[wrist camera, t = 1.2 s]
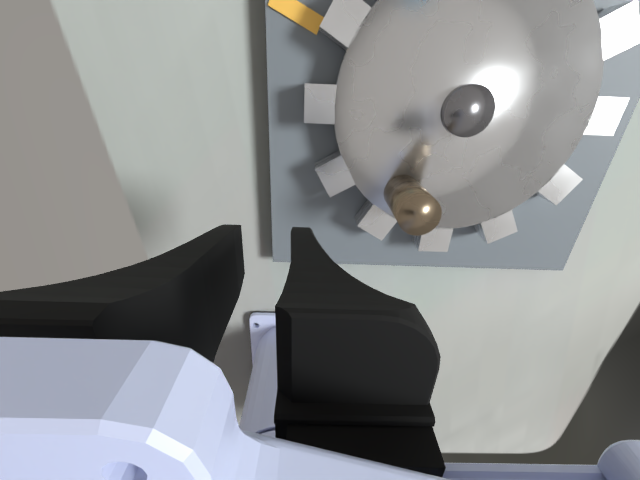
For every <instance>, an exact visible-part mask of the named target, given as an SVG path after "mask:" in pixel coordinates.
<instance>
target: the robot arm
mask: <svg viewBox="0 0 640 480" xmlns="http://www.w3.org/2000/svg"><path fill="white" fill-rule="evenodd" d="M244 274H245V272H244V259H243V246H242V233H241V225H221V226H218V227H216V228H214V229H212V230H210V231H208V232H206V233H204V234H203V235H201V236H199V237H197V238H195V239H193V240H191V241H189V242H187V243H185V244H183V245H181V246H179V247H176V248H174V249H172V250H170V251H168V252H166V253H164V254H161V255H159V256H156V257H154V258H151V259H149V260H146V261H143V262H140V263H137V264H135V265H132V266H128V267H125V268H121V269H117V270H114V271H110V272H107V273H104V274H100V275H96V276H91V277H87V278H83V279H78V280H73V281H68V282H63V283H58V284H52V285H46V286H39V287H32V288H26V289H18V290H11V291H3V292H0V480H640V440H624V441H619V442H616V443H614V444H611V445H610V446H609V447H608V448H607V449H605V451H604V452H603V453H602V455H601V457H600V459H599V461H598V464H597V465H561V464H493V463H492V464H490V463H444V461H443V458H442V455H441V452H440V449H439V446H438V443H437V440H436V437H435V434H434V431H433V428H432V426H434V424H435V417H434V414H433V411H432V408H431V405H430V399H431V395H432V392H433V388H434V385H435V382H436V378H437V375H438V371H439V365H440V354H439V350H438V346H437V343H436V341H435V339H434V337H433V335H432V332H431V330H430V329H429V327H428V325H427V323H426V321H425V320H424V318H423V317H422V315H421V314H420V312H419V310H418V309H417V307H416V305H415V304H412V303H409V302H406V301H403V300H400V299H397V298H394V297H392V296H389V295H386V294H384V293H382V292H380V291H377V290H375V289H373V288H371V287H369V286H367V285H366V284H364V283H362V282H360V281H359V280H357V279H356V278H354V277H352V276H351V275H350V274H348V273H347V272H346V271H344V270H343V269H342V268H341V267H339V266H338V265H337V264H336V263H335V262H334V261H333V260H332V259H331V258H330V257H329V255H328V254H327V253H326V252H325V250H324V249H323V248H322V246H321V245H320V244H319V242H318V241H317V239H316V237H315V235H314V233H313V231H312V229H311V228H310V227H292V229H291V264H290V269H289V273H288V276H287V280H286V283H285V286H284V289H283V292H282V294H281V296H280V298H279V300H278V302H277V304H276V306H275V313H259V312H256V313H252V314H251V315H250V318H249V325H250V338H251V351H252V364H253V368H252V372H251V376H250V381H249V385H248V390H247V394H246V399H245V403H244V407H243V412H242V416H241V421H240V425H238V422H237V419H236V412H235V404H234V395H233V392H232V390H231V388H230V386H229V384H228V382H227V380H226V378H225V376H224V374H223V372H222V370H221V369H220V368H219V367H218V366H217V365H215V364H214V363H213V362H214V358H215V355H216V352H217V349H218V347H219V344H220V342H221V339H222V337H223V334H224V332H225V329H226V327H227V325H228V322H229V320H230V317H231V315H232V313H233V310H234V308H235V305H236V303H237V300H238V298H239V295H240V291H241V287H242V283H243V279H244ZM254 323H258V324H259V325H255V324H254Z"/></svg>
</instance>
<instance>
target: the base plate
mask: <svg viewBox="0 0 640 480" xmlns="http://www.w3.org/2000/svg"><path fill="white" fill-rule="evenodd" d="M363 1H364V2H365V3H367V4H368V5H369V6H370V7H371V8H372V7H373V5H374V4H375V3H376V2H377V1H378V0H363ZM629 1H633V0H593V2H594V4H595V7H596V10H597V13H599V12H601V11H603V10H605V9H607V8H609V7H610V6H614V5H617V4H621V3H625V2H629ZM332 2H333V0H265V16H266V49H267V83H268V116H269V150H270V184H271V217H272V251H273V262H291V229H292V227H310V228H311V229H312V231H313V233H314V235H315V237H316V239H317V241H318V242H319V244H320V245H321V246H322V248H323V249H324V250H325V252H326V253H327V254H328V255H329V257H330V258H331V259H332V260H333V261H334V262H335V263H337V264H369V265H402V266H435V267H468V268H501V269H533V270H563V269H564V266H565V264H566V262H567V260H568V257H569V255H570V253H571V251H572V248H573V246H574V244H575V242H576V239H577V237H578V235H579V233H580V231H581V228H582V226H583V224H584V222H585V219H586V217H587V215H588V213H589V210H590V208H591V206H592V204H593V201H594V199H595V197H596V195H597V192H598V190H599V188H600V186H601V183H602V181H603V179H604V177H605V174H606V172H607V170H608V168H609V166H610V163H611V161H612V159H613V157H614V154H615V152H616V150H617V148H618V145H619V143H620V141H621V139H622V136H623V134H624V132H625V130H626V127H627V125H628V123H629V121H630V118H631V116H632V114H633V112H634V109H635V107H636V105H637V103H638V101H639V98H640V42H639V43H637V44H635V45H633V46H631V47H629V48H627V49H625V50H623V51H621V52H619V53H617V54H615V55H613V56H611V57H609V58H607V59H605V60H604V66H603V77H602V82H601V87H600V92H599V96H602V97H622V98H629V100H628V103H627V105H626V107H625V110H624V112H623V114H622V116H621V119H620V121H619V123H618V126H617V128H616V130H615V133H614V135H613V136H603V135H583V136H582V138H581V140H580V142H579V143H578V145H577V147H576V148H575V150H574V151H573V153H572V154H571V156H570V157H569V158H568V160H567V161H566V163H565V165H566V166H567V167H568V168H570V169H571V170H572V171H573V172H575V173H576V174H577V175H578V176H579V177H581V178H582V179H583V180H582V181H581V182H580V183H579V184H578V185H577V186H576V187H575V188H574V189H573V190H572V191H571V192H570V193H569V194H568V195H567V196H566V197H565V198H564V199H563V200H562V201H561V202H560V203H558V204H557V205H554V204H553V203H551V202H549V201H547V200H545V199H543V198H541V197H540V196H538V195H537V194H536V193H535V194H534V195H533V196H531V197H530V198H529V199H527V200H526V201H525V202H523V203H522V204H520V205H518V206H517V207H515V208H514V209H512V212H513V216H514V219H515V223H516V227H517V231H518V232H515V233H513V234H511V235H508V236H506V237H503V238H501V239H499V240H496V241H494V242H492V243H489V244H487V243H486V242H485V241H484V240H483V239H482V238H481V237H480V236H479V235H478V234H477V232H476V229H475V226H474V225H472V226H468V227H461V228H454V229H453V232H452V236H451V240H450V244H449V248H448V252H432V251H418V250H417V248H416V246H415V245H414V243H413V241H412V239H413V235H410V234H407V233H406V232H404V231H403V230H402V229H401V227H400V226H399V224H398V222H396V224H395V225H394V226H393V227H392V229H391V230H390V231H389V232H388V234H387V235H386V236H385V237H384V239H383V240H382V241H381V240H380V239H378V238H376V237H375V236H373V235H371V234H370V233H368V232H366V231H365V230H363V229H361V228H360V227H358V226H357V223H356V220H355V216H356V215H357V213H358V212H359V210H360V209H361V208H362V206H363V205H364V204H365V202H366V201H367V200H368V199H367V198H366V197H365V196H364V195H363V194H362V193H361V191H360V190H359V189H358V188H357V186H356V185H354V186H352V187H350V188H348V189H346V190H344V191H342V192H340V193H338V194H336V195H334V196H332V197H329V195H328V193H327V191H326V189H325V187H324V185H323V184H322V182H321V180H320V178H319V176H318V174H317V172H316V171H315V163H316V162H318V161H320V160H322V159H324V158H326V157H328V156H329V155H331V154H333V153H335V152H337V151H339V147H338V144H337V140H336V136H335V128H334V124H316V123H304V91H305V83H312V84H335V85H336V81H337V77H338V73H339V68H340V65H341V63H342V60H343V57H344V54H345V52H346V50H344V49H343V48H342V47H340V46H339V45H338V44H336V43H335V42H334V41H332V40H331V39H330V38H328V37H327V36H326V35H324V34H323V33H322V32H320V31H319V26H320V24H321V22H322V21H323V19H324V17H325V15H326V13H327V11H328V9H329V7H330V5H331V3H332ZM638 13H639V29H640V0H638Z"/></svg>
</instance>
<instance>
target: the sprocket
mask: <svg viewBox="0 0 640 480" xmlns="http://www.w3.org/2000/svg"><path fill="white" fill-rule="evenodd" d="M319 31H320V32H322V33H323V34H324V35H326V36H327V37H328V38H330V39H331V40H332V41H334V42H335V43H336V44H338V45H339V46H340V47H342V48H343V49H344V50H346V52H345V54H344V57H343V60H342V63H341V65H340V68H339V73H338V77H337V81H336V85H335V84H312V83H305V91H304V123H316V124H334V128H335V136H336V140H337V144H338V147H339V151H337V152H335V153H333V154H331V155H329V156H328V157H326V158H324V159H322V160H320V161H318V162H316V163H315V171H316V172H317V174H318V176H319V178H320V180H321V182H322V184H323V185H324V187H325V189H326V191H327V193H328V195H329V197H332V196H334V195H336V194H338V193H340V192H342V191H344V190H346V189H348V188H350V187H352V186H354V185H356V186H357V188H358V189H359V190H360V191H361V193H362V194H363V195H364V196H365V197H366V198H367V199H368V200H367V201H366V202H365V204H364V205H363V206H362V208H361V209H360V210H359V212H358V213H357V215H356V216H355V220H356V223H357V226H358V227H360V228H361V229H363V230H365V231H366V232H368V233H370V234H371V235H373V236H375V237H376V238H378V239H380V240H381V241H382V240H383V239H384V237H385V236H386V235H387V234H388V232H389V231H390V230H391V229H392V227H393V226H394V225H395V224H396V222H398V224H399V226H400V227H401V229H402V230H403V231H404V232H406V233H407V234H410V235H413V239H412V241H413V243H414V245H415V246H416V248H417V250H418V251H432V252H448V248H449V244H450V240H451V236H452V232H453V229H454V228H461V227H468V226H472V225H474V226H475V229H476V232H477V234H478V235H479V236H480V237H481V238H482V239H483V240H484V241H485V242H486V243H487V244H489V243H492V242H494V241H496V240H499V239H501V238H503V237H506V236H508V235H511V234H513V233H515V232H518V231H517V227H516V223H515V219H514V216H513V212H512V209H514V208H515V207H517V206H518V205H520V204H522V203H523V202H525V201H526V200H527V199H529V198H530V197H531V196H533V195H534V194H535V193H536V194H537V195H538V196H540V197H541V198H543V199H545V200H547V201H549V202H551V203H553V204H554V205H557V204H558V203H560V202H561V201H562V200H563V199H564V198H565V197H566V196H567V195H568V194H569V193H570V192H571V191H572V190H573V189H574V188H575V187H576V186H577V185H578V184H579V183H580V182H581V181H582V180H583V179H582V178H581V177H579V176H578V175H577V174H576V173H575V172H573V171H572V170H571V169H570V168H568V167H567V166H566V165H565V163H566V161H567V160H568V158H569V157H570V156H571V154H572V153H573V151H574V150H575V148H576V147H577V145H578V143H579V142H580V140H581V138H582V136H583V135H603V136H613V135H614V133H615V130H616V128H617V126H618V123H619V121H620V119H621V116H622V114H623V112H624V110H625V107H626V105H627V103H628V100H629V98H622V97H602V96H599V92H600V87H601V82H602V77H603V66H604V60H605V59H607V58H609V57H611V56H613V55H615V54H617V53H619V52H621V51H623V50H625V49H627V48H629V47H631V46H633V45H635V44H637V43H639V42H640V29H639V13H638V0H633V1H629V2H625V3H621V4H617V5H614V6H610V7H609V8H607V9H605V10H603V11H601V12H599V13H597V10H596V7H595V4H594V2H593V0H378V1H377V2H376V3H375V4H374V5H373V7H372V8H371V7H370V6H369V5H368V4H367V3H365V2H364V1H363V0H333V2H332V3H331V5H330V7H329V9H328V11H327V13H326V15H325V17H324V19H323V21H322V22H321V24H320V26H319Z"/></svg>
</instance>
